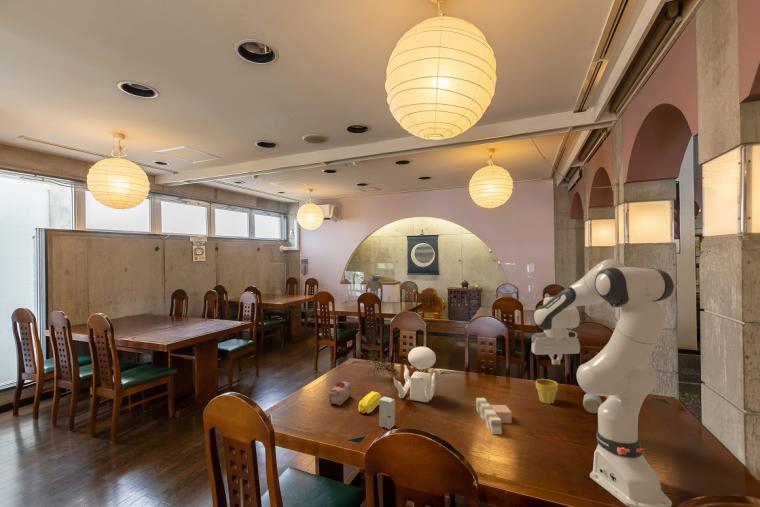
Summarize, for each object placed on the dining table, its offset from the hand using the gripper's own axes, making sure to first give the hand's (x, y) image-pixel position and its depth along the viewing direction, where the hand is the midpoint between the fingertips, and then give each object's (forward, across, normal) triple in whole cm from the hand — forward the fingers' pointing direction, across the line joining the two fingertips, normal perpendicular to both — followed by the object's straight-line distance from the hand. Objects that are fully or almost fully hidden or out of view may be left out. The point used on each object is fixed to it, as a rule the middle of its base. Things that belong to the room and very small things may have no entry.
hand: (555, 364), depth 155 cm
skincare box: (+27, -75, +4) cm, 80 cm away
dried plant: (+25, -85, +67) cm, 112 cm away
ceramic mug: (+27, +25, +14) cm, 40 cm away
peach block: (+27, -23, +9) cm, 36 cm away
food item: (+26, -99, +34) cm, 108 cm away
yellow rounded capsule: (+27, -83, +24) cm, 90 cm away
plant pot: (+27, +8, +27) cm, 39 cm away
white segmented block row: (+27, -29, +7) cm, 40 cm away
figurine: (+26, -58, +35) cm, 72 cm away
